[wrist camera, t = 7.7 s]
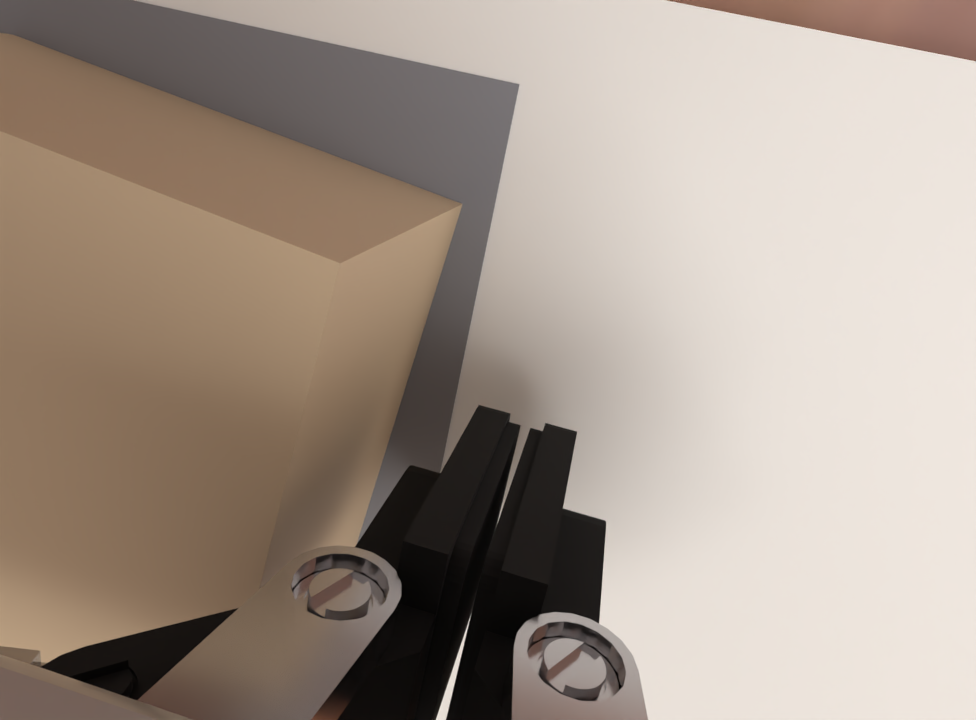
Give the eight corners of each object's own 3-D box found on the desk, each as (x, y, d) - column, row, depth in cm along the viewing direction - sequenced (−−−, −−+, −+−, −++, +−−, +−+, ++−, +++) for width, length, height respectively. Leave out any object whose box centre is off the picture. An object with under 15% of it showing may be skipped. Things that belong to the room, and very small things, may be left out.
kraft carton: (12, 34, 12) (-389, -20, 7) (462, 204, 11) (339, 263, 7) (-7, 490, 16) (-279, 646, 11) (327, 636, 15) (189, 866, 10)
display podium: (-18, -110, 14) (-180, -167, 11) (1648, 227, 11) (2015, 266, 8) (21, 490, 20) (-81, 551, 17) (1125, 844, 16) (1229, 998, 13)
